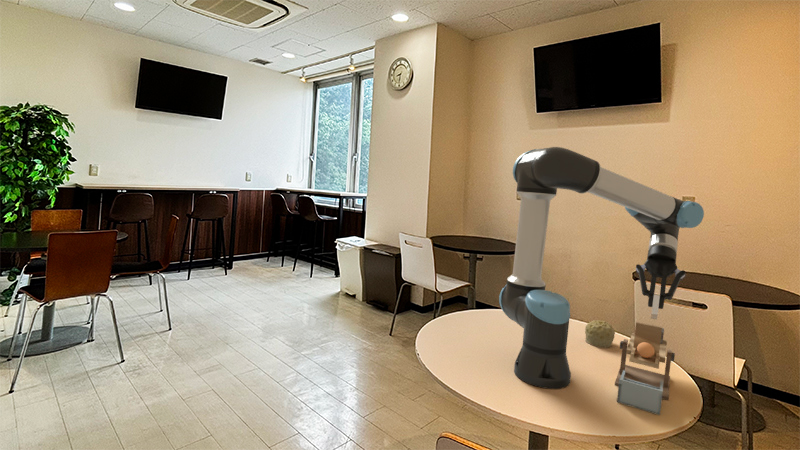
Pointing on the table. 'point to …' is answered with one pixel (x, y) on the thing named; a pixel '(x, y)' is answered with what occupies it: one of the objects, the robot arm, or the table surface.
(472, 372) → the table surface
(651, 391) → the blue open box
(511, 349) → the table surface
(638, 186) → the robot arm
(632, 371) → the catapult stand
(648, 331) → the lever
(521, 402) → the table surface
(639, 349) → the ball
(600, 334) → the decorative item
